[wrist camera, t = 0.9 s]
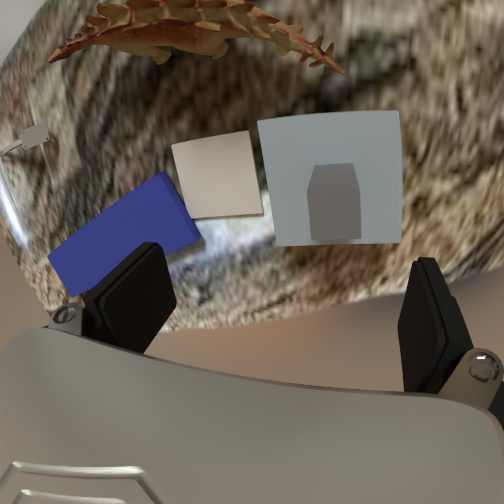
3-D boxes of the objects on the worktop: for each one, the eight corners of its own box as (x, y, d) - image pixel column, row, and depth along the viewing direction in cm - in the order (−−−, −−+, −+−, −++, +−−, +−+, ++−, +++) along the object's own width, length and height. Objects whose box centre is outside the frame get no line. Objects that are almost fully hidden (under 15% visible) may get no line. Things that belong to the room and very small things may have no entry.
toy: (330, 88, 30) (355, 82, 17) (89, 67, 31) (9, 71, 18) (343, 23, 25) (373, -19, 13) (98, 12, 26) (23, -3, 13)
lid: (396, 110, 22) (425, 117, 14) (399, 238, 27) (417, 291, 20) (259, 120, 25) (226, 131, 18) (278, 241, 31) (258, 294, 24)
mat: (249, 130, 32) (248, 130, 31) (263, 211, 36) (262, 213, 36) (173, 144, 35) (171, 145, 34) (191, 217, 39) (189, 218, 39)
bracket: (50, 140, 37) (-4, 161, 31) (35, 147, 50) (-3, 163, 44) (47, 121, 35) (-8, 142, 29) (33, 134, 48) (-6, 149, 42)
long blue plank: (57, 249, 52) (79, 291, 55) (46, 255, 50) (69, 298, 52) (168, 169, 37) (202, 237, 39) (154, 174, 34) (190, 246, 37)
